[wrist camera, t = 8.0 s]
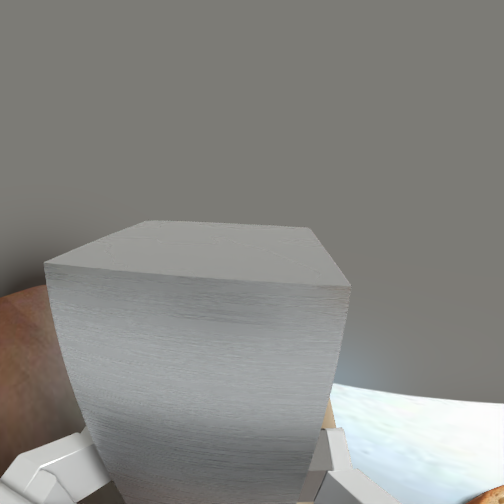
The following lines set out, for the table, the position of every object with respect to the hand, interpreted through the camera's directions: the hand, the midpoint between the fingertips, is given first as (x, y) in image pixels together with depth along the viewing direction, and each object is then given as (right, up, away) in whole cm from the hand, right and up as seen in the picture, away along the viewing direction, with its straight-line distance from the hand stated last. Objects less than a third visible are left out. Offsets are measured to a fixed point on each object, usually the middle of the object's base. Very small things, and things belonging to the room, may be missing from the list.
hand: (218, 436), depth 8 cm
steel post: (0, -8, +1) cm, 8 cm away
